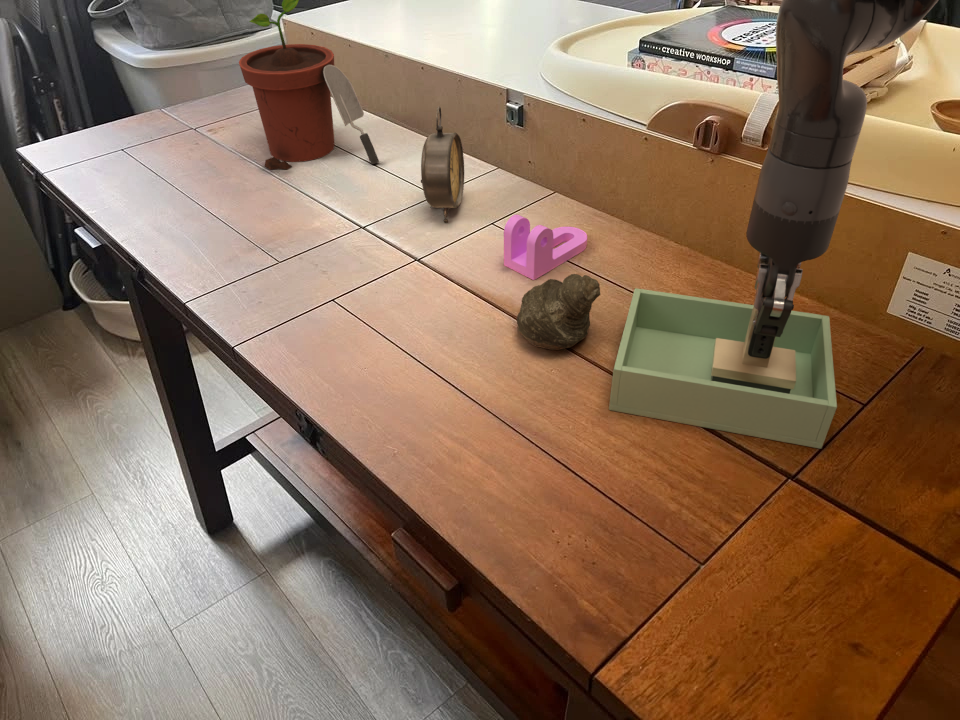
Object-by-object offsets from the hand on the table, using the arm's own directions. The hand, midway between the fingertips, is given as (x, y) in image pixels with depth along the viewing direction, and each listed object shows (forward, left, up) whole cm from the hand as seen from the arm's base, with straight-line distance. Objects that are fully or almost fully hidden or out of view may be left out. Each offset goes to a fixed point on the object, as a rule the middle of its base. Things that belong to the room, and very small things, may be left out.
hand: (758, 345), depth 81 cm
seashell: (+24, -5, -6) cm, 26 cm away
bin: (+3, 0, -6) cm, 7 cm away
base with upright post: (0, 0, -5) cm, 5 cm away
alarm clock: (+46, -31, -6) cm, 56 cm away
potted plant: (+76, -45, -6) cm, 89 cm away
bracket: (+27, -22, -6) cm, 36 cm away
